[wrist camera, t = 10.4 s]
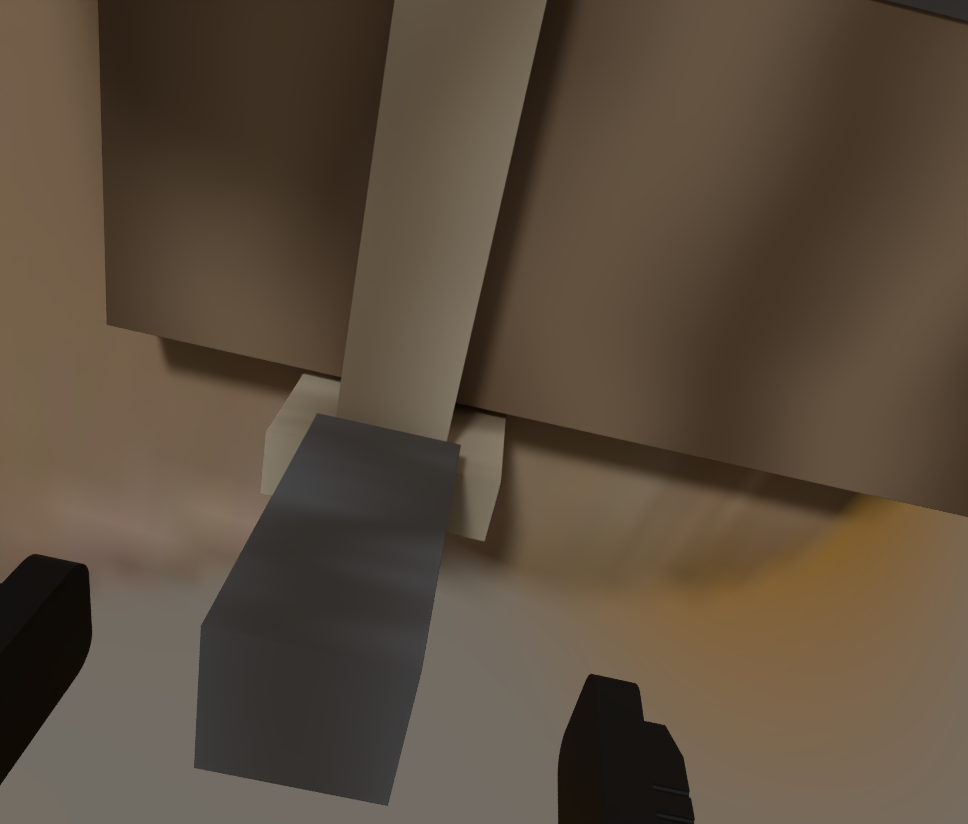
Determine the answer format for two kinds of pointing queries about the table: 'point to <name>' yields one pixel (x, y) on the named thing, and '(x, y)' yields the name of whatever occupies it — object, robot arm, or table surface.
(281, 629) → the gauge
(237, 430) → the table surface
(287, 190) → the board
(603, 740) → the robot arm
